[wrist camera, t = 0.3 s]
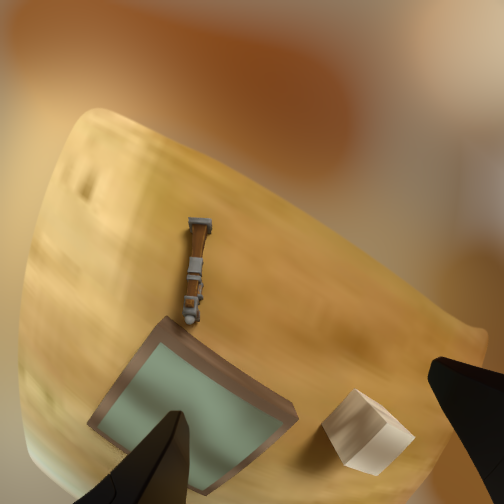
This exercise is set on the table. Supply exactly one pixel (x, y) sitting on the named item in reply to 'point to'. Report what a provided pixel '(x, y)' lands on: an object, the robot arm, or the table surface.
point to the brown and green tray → (193, 406)
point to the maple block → (365, 434)
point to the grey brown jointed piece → (195, 268)
